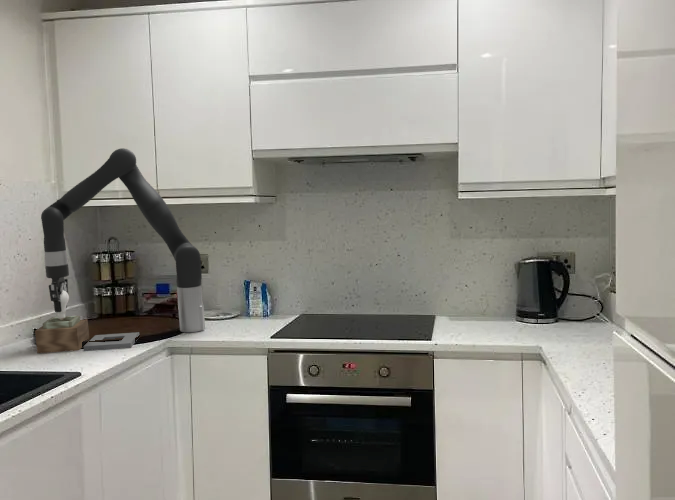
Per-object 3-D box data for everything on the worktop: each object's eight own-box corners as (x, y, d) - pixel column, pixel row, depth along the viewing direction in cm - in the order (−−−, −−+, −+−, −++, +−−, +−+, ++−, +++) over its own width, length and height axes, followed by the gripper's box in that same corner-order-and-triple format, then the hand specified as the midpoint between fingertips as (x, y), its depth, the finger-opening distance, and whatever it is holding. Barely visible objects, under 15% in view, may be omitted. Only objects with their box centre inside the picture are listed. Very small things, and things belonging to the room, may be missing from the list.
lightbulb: (48, 321, 232) (45, 290, 231) (63, 317, 237) (60, 287, 236) (60, 322, 229) (57, 291, 228) (74, 318, 235) (71, 288, 233)
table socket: (139, 336, 245) (139, 332, 245) (131, 347, 229) (130, 343, 229) (95, 339, 243) (95, 335, 243) (84, 350, 227) (83, 346, 227)
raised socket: (89, 340, 242) (87, 314, 241) (78, 350, 228) (76, 322, 227) (50, 343, 241) (47, 316, 239) (37, 353, 227) (34, 325, 226)
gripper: (61, 265, 224) (65, 313, 226) (73, 260, 238) (77, 305, 240) (38, 267, 223) (43, 315, 225) (52, 261, 238) (56, 306, 240)
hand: (61, 310), depth 233 cm, fingers closed on lightbulb, 5 cm apart
